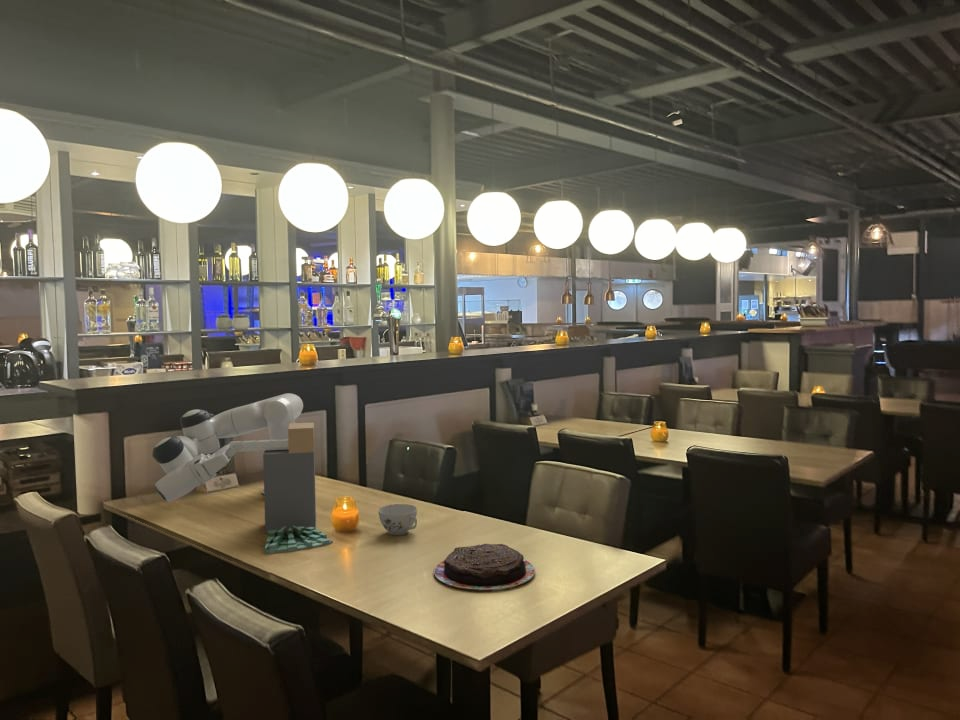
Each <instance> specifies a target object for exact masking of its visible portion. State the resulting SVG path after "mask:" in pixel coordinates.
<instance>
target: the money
mask: <svg viewBox="0 0 960 720" xmlns="http://www.w3.org/2000/svg"><path fill="white" fill-rule="evenodd" d="M265 542H266V544H265V546H264V552H265V555H266V554H267V555H268V554H269V555H270V554H278V553H289V552H296V551H304V550H309V549H314V548H318V547H324V546H327V545H331V544H333V542H334V541H333V540H332V539H330V538H328V535H327V534H326V533H323V531H322V530H318V529H317V527H316V528H314V527H308V528H305V527H301V526H300V527H295V526H293V532H292V529H291V528H289V529H288V532H286V526H284V527H283V528H281V529H280V530H269V532H268V533H267V539H266V541H265Z"/></svg>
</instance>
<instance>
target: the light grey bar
mask: <svg viewBox="0 0 960 720" xmlns="http://www.w3.org/2000/svg"><path fill="white" fill-rule="evenodd" d="M229 444H230V449H232V448H234V447H235V446H237V445H238V444H241V446H242V447H243V448H242V450H240V451H238V452H243V453H244V452H264V451H267V450H289V444H288V439H278V440H270V439H259V440H254V439H252V440H236V441H235V440H233V441H232V440H231V441H230V442H229ZM238 452H237V453H238Z"/></svg>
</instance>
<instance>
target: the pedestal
mask: <svg viewBox="0 0 960 720" xmlns="http://www.w3.org/2000/svg"><path fill="white" fill-rule="evenodd" d="M288 444H289V450H267V451H263V454H262V455H263V456H262V457H263V458H262V459H263V464H262V465H263V490H264V494H263V495H264V496H263V498H264V499H263V500H264V502H263V503H264V529H265V533H264V534H268V532H269V530H280V529H281V528H283V527H284V526H286V533H288V529H289V528H291V529H292V533H293V526H295V527H300V526H301V527H305V528H308V527H314V528H316V529H317V525H316V524H317V508H316V507H317V505H316V503H317V502H316V466H315V465H316V464H315V463H316V462H315V461H316V460H315V459H316V458H315V456H316V455H315V453H316V452H315V422H295V423H290V424H289V428H288Z"/></svg>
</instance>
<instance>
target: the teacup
mask: <svg viewBox="0 0 960 720" xmlns="http://www.w3.org/2000/svg"><path fill="white" fill-rule="evenodd" d="M377 512H378V518H379V521H380V522H381V525H382V527H383V528H384V529H385V530H386V531H387V532H388V533H389V535H390V536H391V535H392V536H403V535H406V534H407V533H408V532H409V530H410V531H411V530H415V529H416V528H417V526H418V519H417V513H418V508H417V506H415V505H413V504H407V503H393V504H388V505H385V506H381V508H379V509H378V511H377Z"/></svg>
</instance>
